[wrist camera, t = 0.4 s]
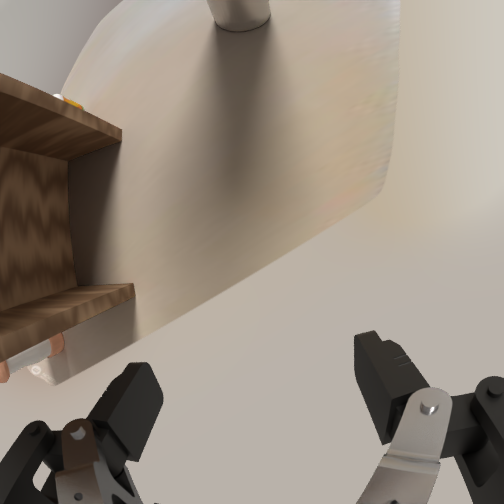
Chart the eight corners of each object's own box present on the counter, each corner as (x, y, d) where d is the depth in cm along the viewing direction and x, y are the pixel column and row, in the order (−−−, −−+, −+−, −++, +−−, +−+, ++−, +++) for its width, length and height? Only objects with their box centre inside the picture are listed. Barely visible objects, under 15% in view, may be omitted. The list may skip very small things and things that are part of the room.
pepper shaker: (40, 314, 42) (-28, 341, 24) (61, 323, 42) (-12, 357, 23) (45, 346, 43) (-17, 378, 24) (66, 356, 42) (1, 395, 23)
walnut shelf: (62, 153, 38) (-84, 123, 7) (121, 129, 36) (-50, 54, 5) (74, 297, 40) (-77, 355, 9) (135, 296, 38) (-52, 389, 7)
